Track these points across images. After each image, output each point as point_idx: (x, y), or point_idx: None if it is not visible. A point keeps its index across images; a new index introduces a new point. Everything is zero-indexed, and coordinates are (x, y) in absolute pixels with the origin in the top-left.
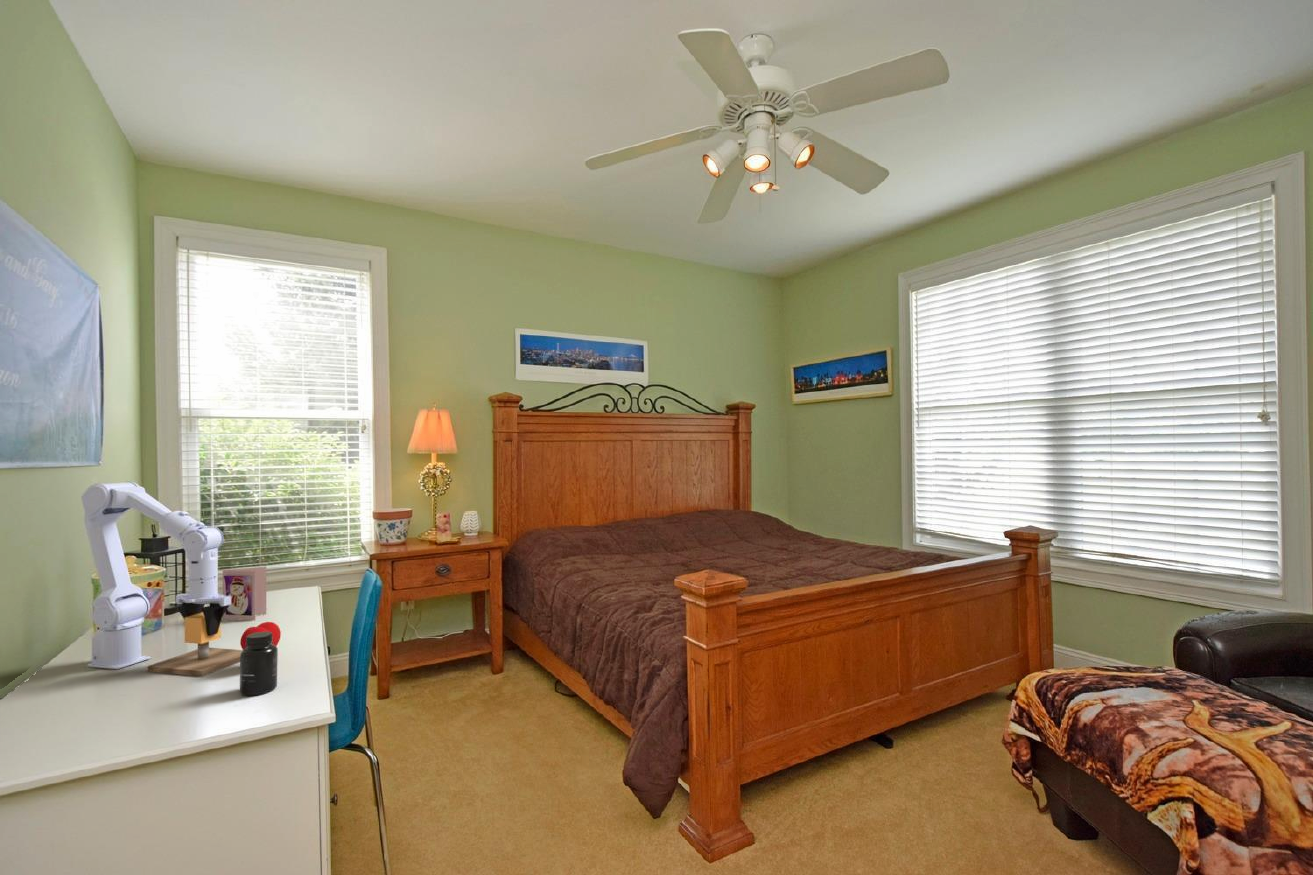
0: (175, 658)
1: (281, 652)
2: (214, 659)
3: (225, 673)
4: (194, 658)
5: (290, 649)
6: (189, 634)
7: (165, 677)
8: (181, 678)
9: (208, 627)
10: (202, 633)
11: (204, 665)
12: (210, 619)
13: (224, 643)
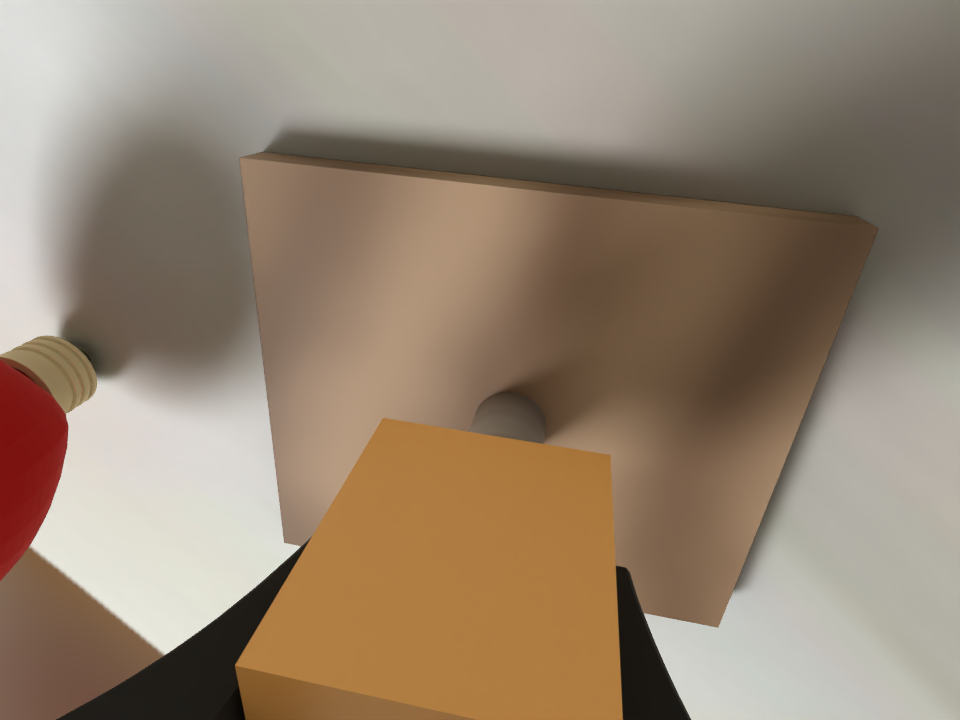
0: (752, 419)
1: (214, 566)
2: (400, 403)
3: (167, 230)
4: (580, 420)
5: (214, 602)
6: (534, 507)
7: (546, 90)
8: (383, 88)
9: (276, 572)
10: (340, 496)
11: (353, 283)
12: (160, 659)
13: (696, 712)
